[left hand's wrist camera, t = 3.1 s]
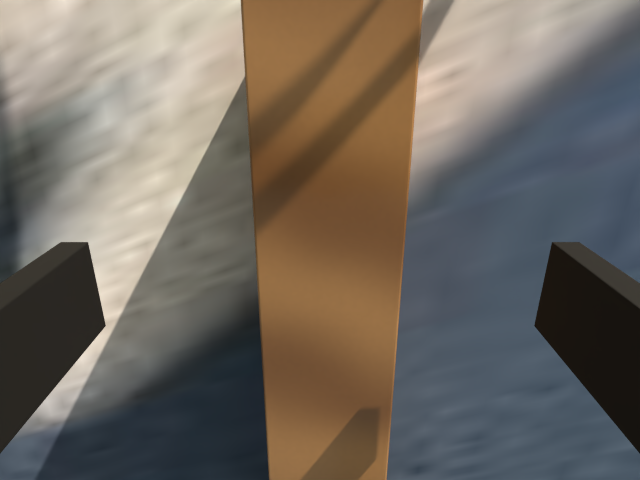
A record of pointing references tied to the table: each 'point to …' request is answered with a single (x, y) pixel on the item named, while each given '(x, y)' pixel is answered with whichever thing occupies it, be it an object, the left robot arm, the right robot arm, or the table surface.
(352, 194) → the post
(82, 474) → the table surface
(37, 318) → the left robot arm
